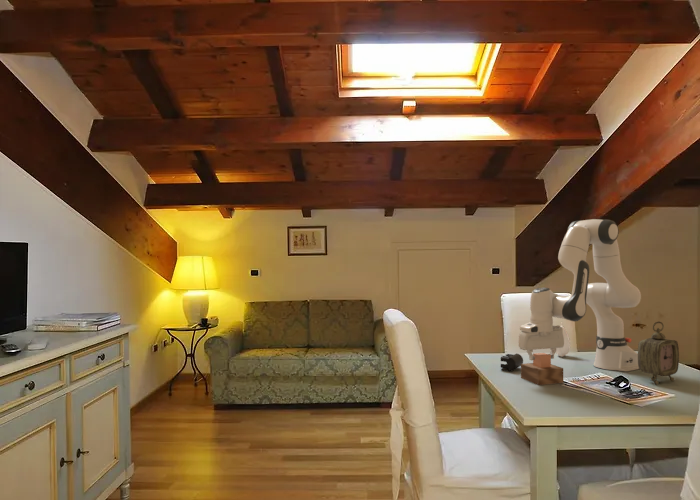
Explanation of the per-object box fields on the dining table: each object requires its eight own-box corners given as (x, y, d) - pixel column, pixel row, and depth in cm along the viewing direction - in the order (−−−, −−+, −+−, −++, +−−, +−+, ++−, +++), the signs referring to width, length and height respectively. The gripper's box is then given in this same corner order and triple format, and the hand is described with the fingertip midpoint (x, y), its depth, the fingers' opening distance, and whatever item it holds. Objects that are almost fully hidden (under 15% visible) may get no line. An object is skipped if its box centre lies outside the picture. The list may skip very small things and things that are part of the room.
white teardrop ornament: (572, 358, 258) (572, 322, 257) (557, 358, 258) (556, 322, 257) (566, 354, 265) (566, 320, 265) (551, 354, 265) (550, 320, 265)
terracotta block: (543, 364, 219) (543, 352, 219) (550, 366, 214) (550, 355, 214) (533, 365, 218) (533, 353, 218) (540, 367, 213) (540, 355, 213)
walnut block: (544, 375, 223) (544, 361, 223) (563, 382, 212) (563, 368, 212) (520, 377, 220) (520, 363, 220) (538, 385, 209) (538, 370, 208)
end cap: (515, 373, 229) (515, 358, 229) (500, 370, 233) (500, 356, 233) (523, 368, 237) (523, 354, 237) (508, 366, 241) (508, 352, 241)
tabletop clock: (657, 386, 205) (657, 324, 205) (636, 381, 213) (635, 321, 213) (679, 381, 212) (678, 321, 212) (657, 377, 220) (657, 318, 220)
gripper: (557, 324, 222) (557, 355, 222) (516, 326, 216) (516, 359, 216) (567, 326, 216) (567, 359, 216) (525, 328, 210) (525, 362, 210)
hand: (541, 359), depth 216 cm, fingers open, 8 cm apart
